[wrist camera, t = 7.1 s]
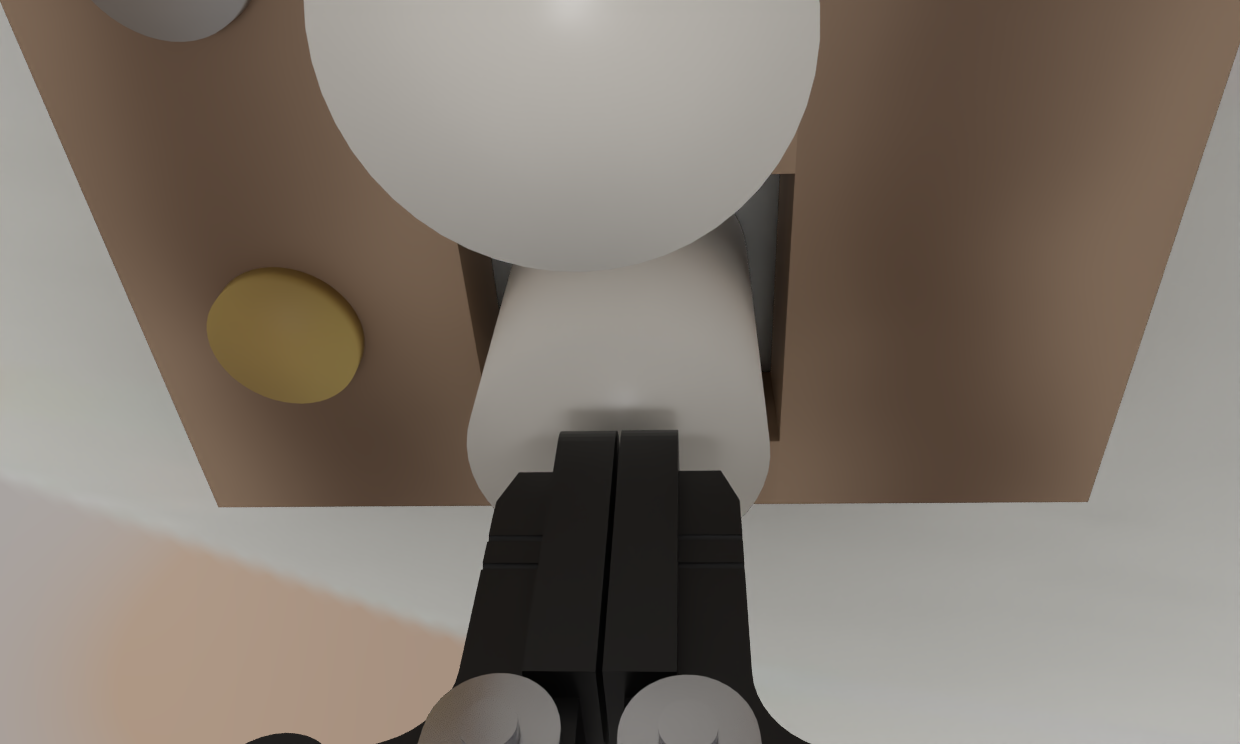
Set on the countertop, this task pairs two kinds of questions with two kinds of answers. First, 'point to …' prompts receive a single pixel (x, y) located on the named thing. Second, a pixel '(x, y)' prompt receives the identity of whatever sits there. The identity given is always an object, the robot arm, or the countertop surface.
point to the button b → (567, 115)
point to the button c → (627, 364)
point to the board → (805, 252)
